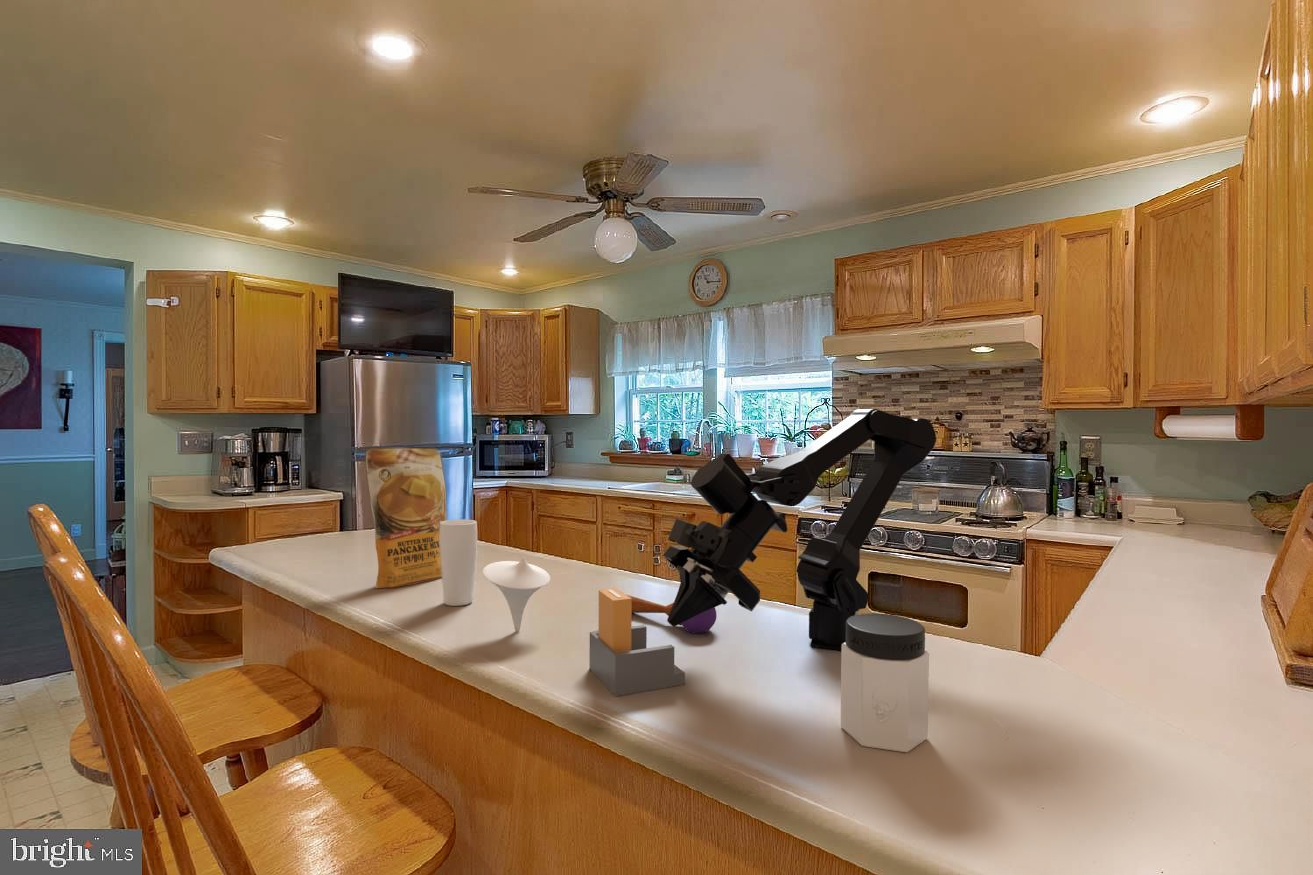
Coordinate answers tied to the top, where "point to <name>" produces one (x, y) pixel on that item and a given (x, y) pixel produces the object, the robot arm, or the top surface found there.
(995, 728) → the top surface
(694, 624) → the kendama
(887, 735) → the jar
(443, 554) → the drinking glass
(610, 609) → the breaker toggle
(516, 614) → the white spinning top
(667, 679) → the base
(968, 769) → the top surface
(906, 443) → the robot arm
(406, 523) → the pancake mix bag
